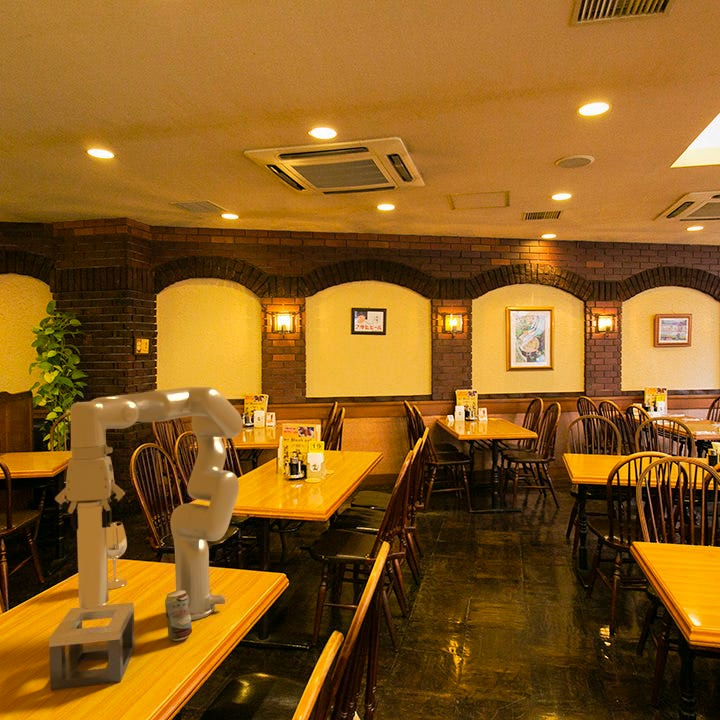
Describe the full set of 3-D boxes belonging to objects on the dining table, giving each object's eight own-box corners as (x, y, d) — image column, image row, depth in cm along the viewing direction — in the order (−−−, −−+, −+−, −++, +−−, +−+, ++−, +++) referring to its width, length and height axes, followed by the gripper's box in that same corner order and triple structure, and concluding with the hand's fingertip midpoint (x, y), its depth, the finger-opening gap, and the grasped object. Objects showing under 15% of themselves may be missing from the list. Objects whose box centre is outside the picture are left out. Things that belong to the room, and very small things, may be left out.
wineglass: (121, 589, 181) (120, 528, 181) (97, 589, 181) (96, 528, 181) (131, 579, 189) (130, 520, 189) (108, 579, 189) (107, 521, 189)
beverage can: (179, 646, 145) (177, 600, 145) (160, 639, 149) (159, 594, 148) (197, 635, 150) (196, 591, 150) (179, 628, 154) (178, 585, 154)
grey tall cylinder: (97, 609, 131) (94, 504, 131) (73, 607, 133) (69, 503, 132) (114, 597, 138) (111, 497, 137) (91, 596, 139) (88, 496, 139)
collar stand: (134, 648, 144) (133, 602, 144) (120, 682, 129) (119, 630, 129) (72, 655, 141) (71, 608, 141) (50, 690, 127) (49, 638, 126)
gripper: (130, 448, 140) (132, 519, 140) (56, 452, 137) (58, 525, 137) (123, 453, 132) (125, 529, 133) (44, 458, 129) (46, 535, 130)
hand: (91, 526), depth 135 cm, fingers closed on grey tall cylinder, 6 cm apart
